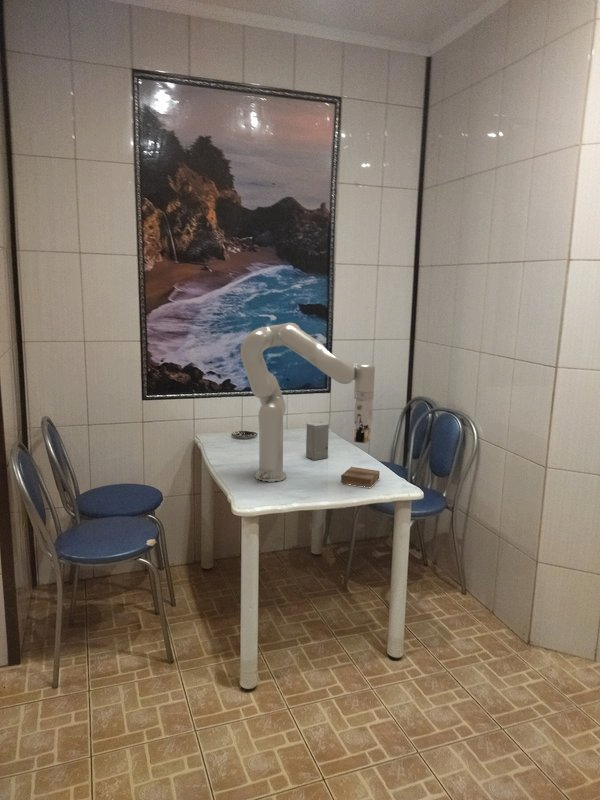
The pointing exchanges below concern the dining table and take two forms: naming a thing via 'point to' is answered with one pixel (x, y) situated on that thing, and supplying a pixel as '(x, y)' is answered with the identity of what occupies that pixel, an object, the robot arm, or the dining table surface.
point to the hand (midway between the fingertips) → (362, 439)
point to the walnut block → (360, 477)
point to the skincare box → (317, 440)
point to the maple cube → (366, 435)
